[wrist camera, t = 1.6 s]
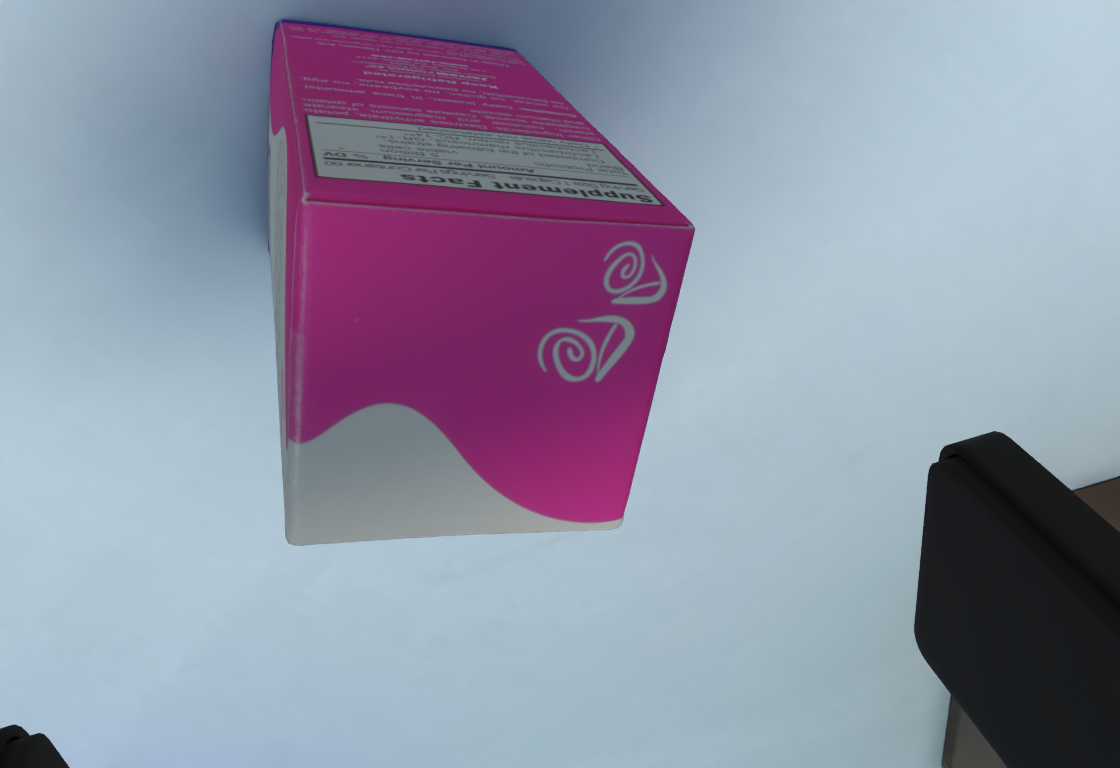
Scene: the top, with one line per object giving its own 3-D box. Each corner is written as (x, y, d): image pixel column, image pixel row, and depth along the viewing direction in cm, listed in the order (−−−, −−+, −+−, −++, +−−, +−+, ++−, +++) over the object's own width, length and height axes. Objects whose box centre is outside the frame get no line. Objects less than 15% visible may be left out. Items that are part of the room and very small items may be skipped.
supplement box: (495, 265, 26) (624, 546, 16) (265, 251, 24) (260, 557, 14) (529, 44, 23) (709, 229, 13) (270, 9, 21) (269, 195, 12)
